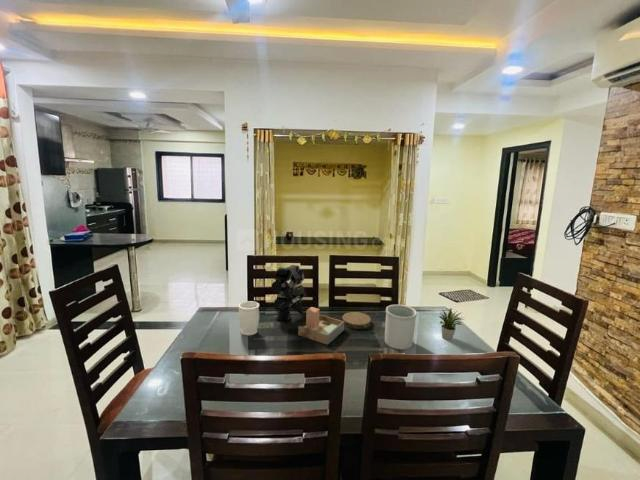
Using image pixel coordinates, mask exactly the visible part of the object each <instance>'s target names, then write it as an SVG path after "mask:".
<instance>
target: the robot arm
mask: <svg viewBox="0 0 640 480" xmlns="http://www.w3.org/2000/svg"><path fill="white" fill-rule="evenodd" d="M274 275H275V276H274V278H273V280H275V281H273V282H272V284H271V290H272V291H273V292H274V293H278V294H277V296H276V298H275V299H274V302H273V303H274V309H275V310H277V314H276V315H277V317H276V318H275V320H276V321H279V322H281V323H282V322H283V323H287V322H288V321H289V320H291V319H292V317H291V311H293V310H294V311H296V312H297V313H299V314H301V315H302V314H304V310H303V307H302V300H303V298H304V297H305V296H306V295H308V293H307V292H306V291H305V287H304V286H303V285H302V283H303V281H304V280H305V274H304V271H303V270H302V269H301V268H300V265H295V264H291V265H290V266H288V267H278V269H277V271H276V273H275V274H274Z"/></svg>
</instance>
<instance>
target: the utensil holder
mask: <svg viewBox="0 0 640 480" xmlns="http://www.w3.org/2000/svg"><path fill="white" fill-rule="evenodd" d="M417 314H418V312H417V310H416V309H415V308H413V307H411V306H408V305H404V304H390V305H388V306H386V308H385V322H384V323H385V325H384V327H385V328H384V342H385V344H386V345H387V346H388V347H390V348H393V349H396V350H409V349H411V347H413V341H414V335H415V327H416V319H417V316H418V315H417Z"/></svg>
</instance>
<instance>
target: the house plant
mask: <svg viewBox="0 0 640 480" xmlns="http://www.w3.org/2000/svg"><path fill="white" fill-rule="evenodd" d="M448 309H449V310H448V314H447V313H446V311H445V310H444V309H442V311H440V312H439V315H438V317H439V318H440V319H441V320H440V321H439V325H440V324H441V338H442V339H443V340H445V341H452V340H453V338H454V336H455V332H456V328H457V327H456V325H461V326H462V321H465V316H464V317H463V316H462V317H461V316H459V315H461V314H462V312H459V313H457V312H458V310H455V312H454V313H453V311H452V309H453V308H451V307H450V308H448ZM456 313H457V314H456ZM460 320H462V321H460Z"/></svg>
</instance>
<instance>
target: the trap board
mask: <svg viewBox="0 0 640 480" xmlns="http://www.w3.org/2000/svg"><path fill="white" fill-rule="evenodd" d="M332 322H333V317H330V316H326V315H322V314H320V313H319V325H318V326H317V327H315V328H311V327H308V326H306V325H304V326H301V325H298V328H297V330H298V331H297V332H298V333H297V334H298V335H297V336H301V337H303V338H307V339H310V340H311V341H315V342H317V341H316V331H318V332H322V331H323V330H324V329H326V328H327V327H328V326H329V325H331V324H332Z"/></svg>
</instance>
